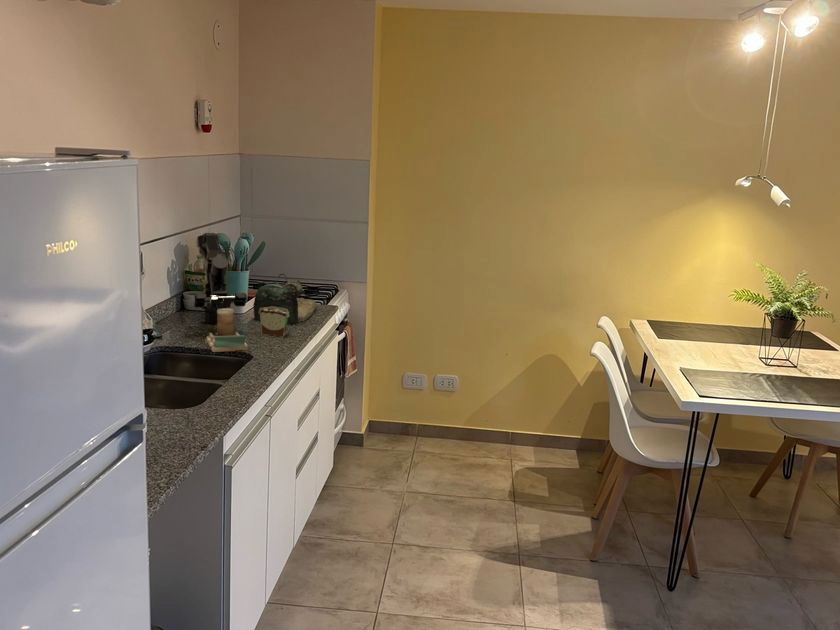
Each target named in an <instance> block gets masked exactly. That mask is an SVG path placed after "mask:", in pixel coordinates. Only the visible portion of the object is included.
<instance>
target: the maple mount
mask: <svg viewBox="0 0 840 630" xmlns="http://www.w3.org/2000/svg"><path fill="white" fill-rule="evenodd" d="M206 342H207V345H208V346H209V348H210V347H211V348H210V350H211V351H212V353H214V352H215V353H216V352H217V353H218V352H220V353H221V352H236V350H237V352H239V351H238V350H243V351H249V349H248V348H249V347H248V344H247V343H246V336H245V335H244V334H240V333H239V332H238V331H234V335H231V336H216V335H214V334H213V332H208V336H207V335H206Z"/></svg>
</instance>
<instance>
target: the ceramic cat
mask: <svg viewBox="0 0 840 630" xmlns="http://www.w3.org/2000/svg"><path fill="white" fill-rule="evenodd" d="M281 276H284V277H285V283H283V284H281V283H278V282H275V281H273V280H265V281H262V282H260V284H259V285H258V287H257V291H256V293H255V295H254V301H253V304H252V305H253V317H254V320H255V321H257V320H258V321H259V322H261V320H260V313H259V310H260V308H264V307H280V308H285V309H287V310H288V312H289V317H288V318H287V323H289V324H288V325H293V324H295V325H296V323H297V324H299V322H298V302H297V298H299V297H300V296H302V294H303V291H304V289H303V286H302V284H301V282H300V279H297V280H296V281H295V282H290V281H289V280H287V278H288V277H287V276H286V274H284V273H280V274H279V275H278V278H279V277H281ZM265 283H268V284H265ZM269 283H270V284H269ZM263 284H265V285H263ZM261 285H262V286H261ZM258 313H259V314H258Z"/></svg>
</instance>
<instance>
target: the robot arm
mask: <svg viewBox="0 0 840 630" xmlns="http://www.w3.org/2000/svg"><path fill="white" fill-rule="evenodd" d="M219 246H220V237H219V235H217V233H214V232H205V233H202V234H201V235H198V236H197V238H196V247H197V248H198V252H199V253H198V254H200V255H201V256H202V257H203V264H204V274H205V285H204V287H203V292H201V293H198V292H197V293H194V295H193V307H194V308H197V309H198V308H202V309H204V314H203V315H204V319H203V320H201V323H205V324H212V325H217V310H218V309H224V308H227V309H231V306H232V303H233V305H234V306H235V307H245V306H246V305H247V300H248V295H247V294H246V293H245V292H234V293H235V294H234V296H233V295H231V296H228V285H227V279H226V275H227V272H228V267H229V266H230V262H229V260H228V259H227V258H226V257H225V254H224V253H223V252H221V251H220V248H219Z"/></svg>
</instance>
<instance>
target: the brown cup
mask: <svg viewBox="0 0 840 630" xmlns="http://www.w3.org/2000/svg"><path fill="white" fill-rule="evenodd" d="M234 313H235V309H233V308H224V309H218V310H217V324H216V325H217V330H216V331H217V332H215V336H231V335H235V331H234V328H235V327H234V326H235V325H234V319H235V318H234Z"/></svg>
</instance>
